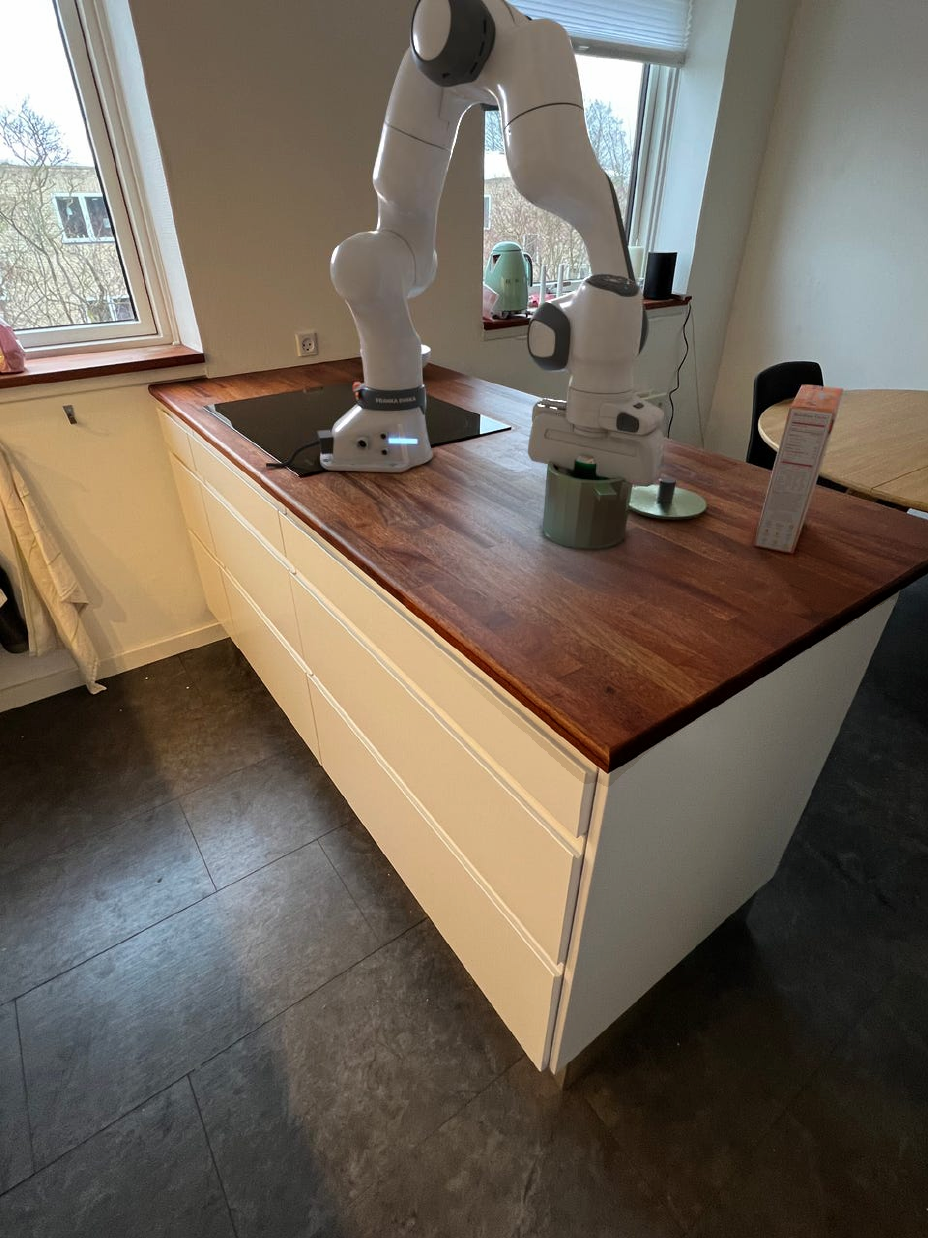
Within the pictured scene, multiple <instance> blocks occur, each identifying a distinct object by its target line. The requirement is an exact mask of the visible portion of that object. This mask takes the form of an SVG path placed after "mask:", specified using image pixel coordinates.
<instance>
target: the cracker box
mask: <svg viewBox="0 0 928 1238" xmlns="http://www.w3.org/2000/svg"><path fill="white" fill-rule="evenodd" d="M843 392H844V388H839V387H832V386H831V387H830V386H823V385H817V384H801V386H800V388H799V390H798V392H797V393H796V395H795V398H794V399H793V401H792V403H791V405H790V406H789V408H788V412H787V417H786V419H785V424H784V427H783V431H782V435H781V438H780V442H779V446H778V449H777V453H776V456H775V461H774V464H773V468H772V472H771V475H770V479H769V483H768V487H767V490H766V495H765V499H764V502H763V506H762V511H761V514H760V518H759V521H758V526H757V529H756V532H755V537H754V541H753V544H752V545H753V546H754V547H756V548H762V549H767V550H771V551H772V550H773V551H776V552H781V553H784V554H785V553H786V554H791V555H793V554H794V552H795V549H796V546H797V543H798V540H799V537H800V534H801V531H802V528H803V526H804V523H805V520H806V516H807V513H808V510H809V506H810V505H811V504H810V503H811V500H812V497H813V494H814V491H815V488H816V484H817V481H818V478H819V475H820V472H821V468H822V465H823V462H824V458H825V457H826V456H825V455H826V452H827V449H828V445H829V442H830V439H831V435H832V433H833V429H834V426H835V422H836V419H837V416H838V412H839V408H840V404H841V401H842V396H843Z"/></svg>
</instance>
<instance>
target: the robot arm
mask: <svg viewBox="0 0 928 1238" xmlns="http://www.w3.org/2000/svg"><path fill="white" fill-rule="evenodd" d="M411 15H412V16H411V19H410V26H409V44H410V46H408V48H407V49H406V51H405V53H404V55H403V57H402V60H401V63H400V65H399V68H398V71H397V73H396V76H395V78H394V79H395V80H394V82H393V86H392V89H391V92H390V95H389V99H388V103H387V107H386V112H385V116H384V121H383V124H382V130H381V135H380V140H379V144H378V148H377V153H376V159H375V164H374V168H373V174H372V184H373V187H374V189H375V191H376V193H377V194H376V195H377V205H378V206H377V207H378V208H377V210H378V211H377V215H378V216H377V217H378V218H377V226H376V228H375V230H374V231H363V232H358V233H356V234H354V235H352V236H349V237H348V238H345V240H343V241H342V242H341V243H339V244H338V245H337V246H336V247H335V249H334V251H333V253H332V255H331V259H330V265H329V269H330V270H329V271H330V277H331V278H330V279H331V281H332V284H333V287H334V289H335V290H336V293H338V295H339V296H340V297H341V298H342V299H343V300H344V302H345V303H346V305H347V306H348V308H349V310H350V312H351V315H352V317H353V321H354V324H355V328H356V330H357V334H358V338H359V343H360V350H361V352H362V356H361V362H362V373H363V381H364V382H363V383H362V382H360V381H355V382H354V383H353V384H352V392H353V394H354V402H355V403H354V404H355V405H354V406H353V407H352V408H350V409H349V410H348V411H346V413H344V414H343V415H342V416H341V417H340V418H339V419H337V421H336V422H335V423H334V424H333V426H332V427H331V429H324V430H317V440H314V441H311V442H308V443H306V444H303V445H301V446H299V447H298V448H296V449H295V450H293V452H292V453H291V455H290V458H289V459H288V460H287V461H284V462H279V463H277V462H265V467H266V468H283V467H287V466H289V465H291V464H292V463H293V462H294V461H295V459H296V457H297V455H298V454H299V453H300V452H302V451H303V450H306V449H309V448H311V447H314V446H318V448H319V450H320V455H319V463H320V465H321V467H322V468H324V469H325V470H327V471H341V472H342V471H343V472H344V471H346V472H370V473H371V472H373V473H374V472H376V473H403V472H406V471H408V470H409V469H411V468H413V467H416V466H421V465H423V464H426V463H427V462H429V461H430V460H432V459H433V458H434V453H433V450H432V447H431V444H430V438H429V434H428V429H427V428H428V427H427V423H426V412H427V411H426V410H427V390H426V385H425V382H424V381H423V379H424V378H423V369H422V347H421V344H422V339H421V337H420V335H419V334H418V332H417V331H416V330H415V328H414V325H413V323H412V319H411V314H410V311H409V306H408V300H410V299H414V298H416V297H418V296H420V295H421V294H422V293H424V292H425V291H426V290H427V289H428V288H429V287H430V286H431V285H432V284H433V282H434V281H435V279H436V276H437V273H438V265H439V264H438V263H439V262H438V257H437V252H436V249H435V245H436V233H437V231H436V230H437V221H438V211H439V206H440V201H441V196H442V193H443V188H444V186H445V181H446V179H447V178H446V177H447V173H448V170H449V166H450V162H451V158H452V154H453V150H454V148H455V144H456V140H457V136H458V131H459V126H460V124H461V121H462V118H463V117H464V114H465V113H466V112H467V110H468V109H470V107H472V106H474V105H477V104H478V106H479V107H480V109H481V110H482V111H483V112H499V116H500V126H501V136H502V144H503V151H504V152H503V153H504V159H505V164H506V169H507V173H508V176H509V179H510V180H511V181H510V182H511V183H512V185H513V187H514V189H515V190H516V191H517V192H518V193H519V194H520V195H521V197H523V199H525V200H526V201H527V202H528V203H530V204H532V205H533V206H535V207H537V208H539V209H542V210H544V211H546V212H548V213H551V214H553V215H555V216H556V217H558V218H560V219H561V220H563V221H564V222H566V223H567V224H569V225H570V226H571V227H572V228H573V229H574V230H575V231H576V232H577V233H578V234H579V236H580V237H581V239H582V241H583V244H584V247H585V250H586V254H587V255H586V256H587V258H588V263H589V267H590V273H591V275H589V276H587V277H584V279H583V280H582V281H581V282H580V284H579V285H578V287H577V288H576V289H574V290H572V291H570V292H569V293H566V294H565V295H562V296H559V297H556V298H553V299H550V300H547V301H543V302H542V303H540V304H539V305H538V306H537V308H536V309H535V310H534V312H533V313H532V315H531V317H530V319H529V323H528V326H527V330H526V331H527V332H526V343H527V350H528V354H529V356H530V358H531V359H532V361H533V362H534V364H536V365H537V367H538V368H540V369H541V370H543V371H547V372H551V373H559V372H560V373H561V372H567V373H568V374H569V381H568V385H567V396H566V401H564V400H554V399H551V398H541V400H539V401H537V402H536V403H534V405H533V407H532V410H531V422H532V425H531V429H530V434H529V437H528V446H527V456H528V457H529V458H530V460H531V461H532V462H535V463H538V464H545V465H548V462H549V461H550V462H554V466H557V467H558V472H560V473H561V474H564V475H567V476H570V474H569V472H570V471H572V470H573V469H574V461H575V459H576V458H578V457H579V454H582V455H586V456H593V457H594V458H593V460H594V461H595V463H596V464H597V466H596V475H597V476H600V477H604V478H609V480H610V479H616V478H624V479H625V482H626V483H631V484H633V485H635V486H643V487H648V486H650V485H654V483H655V482H657V481H658V480H659V479H660V477H661V476H662V471H663V467H664V458H665V438H664V434H663V432H662V430H661V429H660V428H659V427H660V426H661V425H662V424H663V421H664V418H665V412H664V410H663V409H661V408H659V407H657V406H656V405H654V404H652V403H650V402H648V401H647V400H645V399H643V398H641V397H640V396H638V395H636V394H635V393H633V392H634V384H635V383H634V376H633V375H634V374H633V373H634V372H633V371H634V366H635V363H636V360H637V358H638V357H639V356H640V354H641V353H642V351H643V349H644V347H645V346H646V343H647V341H648V338H649V333H650V322H649V315H648V312H647V309H646V307H645V304H644V301H643V295H642V294H643V293H642V290H641V287H640V285H638V284H637V281H636V277H635V272H634V267H633V262H632V259H631V254H630V253H631V252H630V249H629V244H628V239H627V235H626V230H625V225H624V222H623V217H622V212H621V211H622V210H621V208H620V204H619V203H620V202H619V199H618V196H617V192H616V189H615V185H614V183H613V181H612V179H611V177H610V176H609V174H608V173H607V172H606V171H605V170H604V169H603V167H602V165H601V163H600V161H599V158H598V156H597V154H596V152H595V150H594V146H593V144H592V141H591V138H590V134H589V130H588V124H587V119H586V110H585V101H584V94H583V93H584V92H583V87H582V82H581V78H580V77H581V76H580V73H579V67H578V63H577V59H576V54H575V51H574V47H573V44H572V41H571V38H570V36H569V33H568V31H567V30H566V28H565V27H564V26H563V25H562V24H561V23H559V22H557V20H556V21H555V20H553V19H550V18H535V19H534V18H532V17H531V16H529V15H526V14H523V13H522V11H520V10H519V9H518V8H516V7H515V6H514V5H513V4H511V2H508V1H507V0H416V3H415V5H414V8H413V11H412V14H411ZM361 352H360V353H361Z"/></svg>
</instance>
